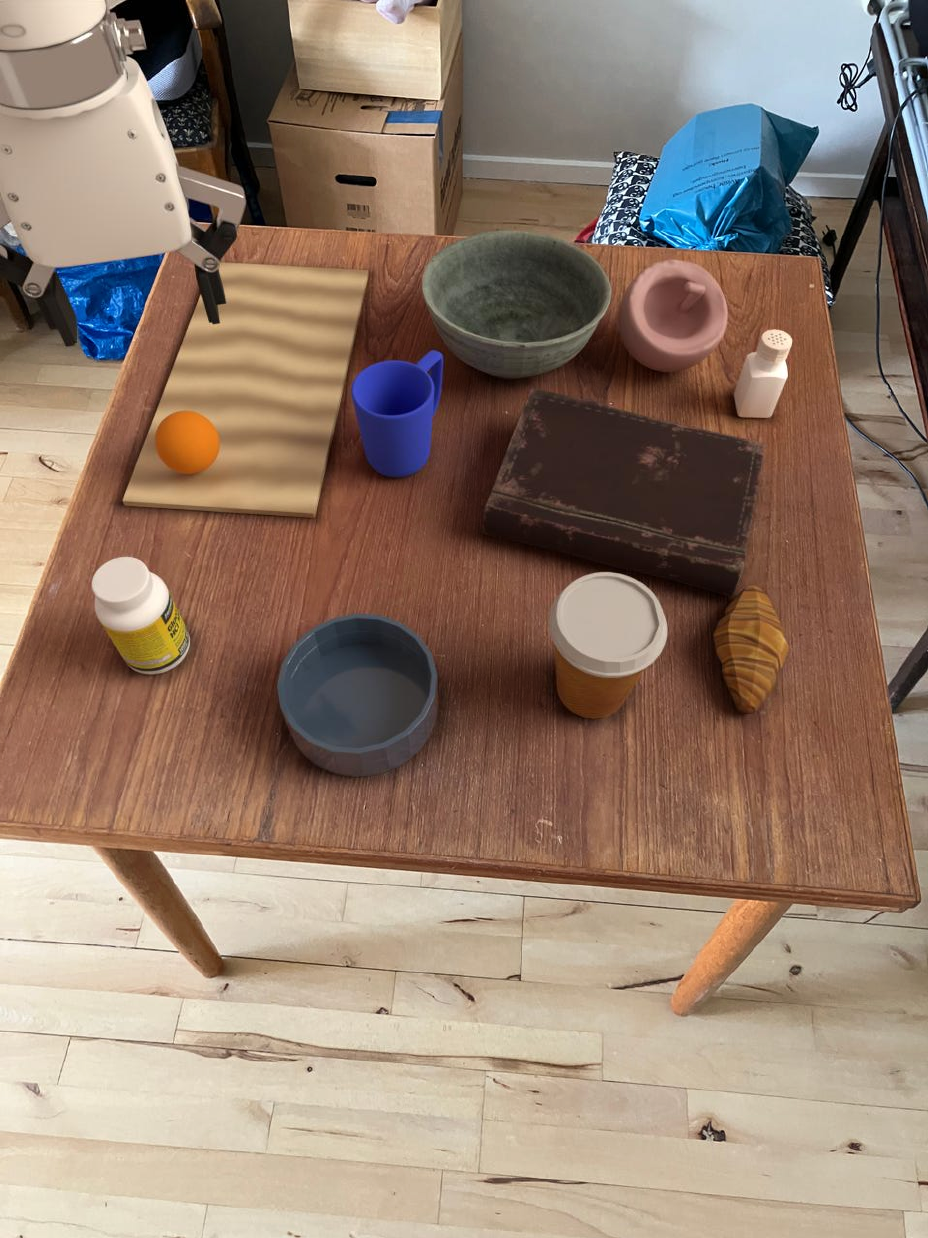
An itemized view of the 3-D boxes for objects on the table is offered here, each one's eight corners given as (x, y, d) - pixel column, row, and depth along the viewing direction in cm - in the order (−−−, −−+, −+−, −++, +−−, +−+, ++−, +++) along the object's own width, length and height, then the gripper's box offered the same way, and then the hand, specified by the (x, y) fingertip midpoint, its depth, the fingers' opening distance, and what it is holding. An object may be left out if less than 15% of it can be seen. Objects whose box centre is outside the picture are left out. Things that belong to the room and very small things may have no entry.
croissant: (711, 589, 86) (724, 558, 82) (782, 601, 85) (799, 571, 81) (703, 711, 79) (717, 684, 74) (780, 725, 78) (799, 699, 74)
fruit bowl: (298, 792, 74) (289, 769, 70) (278, 659, 81) (268, 630, 77) (453, 757, 76) (452, 732, 72) (420, 630, 83) (418, 600, 79)
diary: (729, 604, 85) (743, 574, 81) (481, 542, 89) (482, 509, 85) (754, 467, 94) (768, 433, 90) (530, 416, 98) (533, 381, 94)
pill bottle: (198, 664, 81) (164, 596, 72) (130, 686, 80) (87, 619, 70) (184, 611, 84) (150, 540, 75) (119, 632, 83) (76, 561, 74)
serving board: (314, 518, 90) (313, 513, 90) (124, 505, 91) (121, 500, 91) (368, 275, 112) (368, 269, 111) (214, 266, 113) (212, 261, 112)
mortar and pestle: (641, 405, 100) (660, 321, 90) (593, 339, 106) (606, 254, 96) (732, 378, 102) (760, 293, 92) (681, 315, 108) (702, 230, 98)
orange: (154, 484, 90) (155, 431, 85) (153, 448, 94) (154, 395, 90) (219, 487, 92) (223, 436, 88) (215, 452, 96) (219, 401, 92)
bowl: (407, 403, 100) (402, 331, 91) (442, 288, 111) (441, 214, 102) (590, 427, 98) (602, 355, 89) (607, 307, 109) (619, 234, 100)
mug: (470, 429, 97) (471, 357, 89) (407, 498, 92) (402, 429, 83) (410, 400, 100) (405, 328, 91) (345, 466, 94) (333, 395, 86)
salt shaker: (766, 395, 101) (793, 326, 93) (772, 420, 98) (799, 352, 90) (731, 394, 101) (754, 325, 93) (736, 419, 98) (760, 351, 90)
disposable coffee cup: (623, 752, 76) (648, 685, 66) (522, 710, 79) (531, 640, 68) (657, 665, 81) (685, 591, 71) (561, 629, 83) (575, 551, 73)
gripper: (205, 6, 50) (262, 271, 64) (-119, 40, 47) (15, 307, 62) (217, 71, 46) (275, 338, 60) (-136, 111, 43) (12, 379, 58)
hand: (143, 322), depth 61 cm, fingers open, 9 cm apart
